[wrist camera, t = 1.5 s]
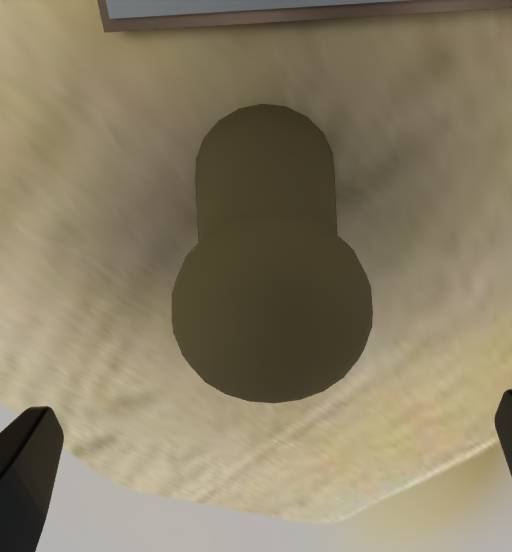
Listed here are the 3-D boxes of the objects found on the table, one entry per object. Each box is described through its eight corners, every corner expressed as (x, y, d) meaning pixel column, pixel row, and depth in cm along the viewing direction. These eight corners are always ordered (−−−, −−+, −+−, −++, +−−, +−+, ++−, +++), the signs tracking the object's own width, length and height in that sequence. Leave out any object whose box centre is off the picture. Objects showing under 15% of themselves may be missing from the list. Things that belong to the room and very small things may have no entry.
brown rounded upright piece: (211, 85, 17) (163, 210, 8) (356, 127, 18) (457, 282, 9) (183, 219, 21) (127, 415, 12) (307, 249, 22) (346, 453, 12)
